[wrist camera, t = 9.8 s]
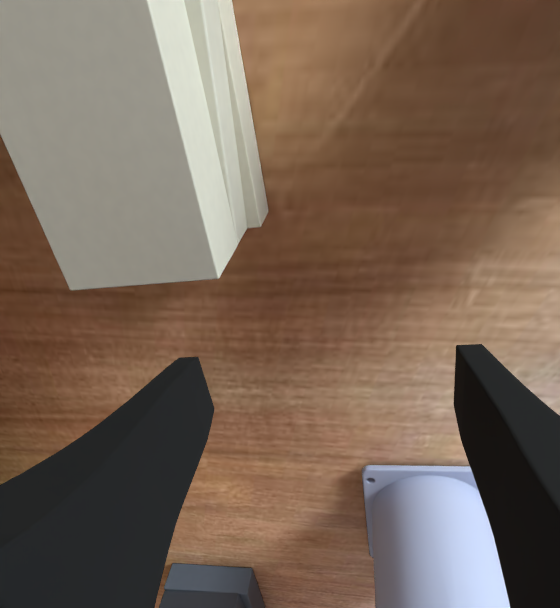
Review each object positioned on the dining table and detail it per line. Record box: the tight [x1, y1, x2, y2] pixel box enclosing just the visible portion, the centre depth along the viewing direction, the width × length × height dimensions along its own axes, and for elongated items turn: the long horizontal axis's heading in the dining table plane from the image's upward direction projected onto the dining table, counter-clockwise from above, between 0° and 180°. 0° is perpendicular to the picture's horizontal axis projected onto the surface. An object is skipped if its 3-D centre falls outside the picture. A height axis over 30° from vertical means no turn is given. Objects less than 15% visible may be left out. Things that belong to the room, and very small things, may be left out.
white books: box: [184, 0, 269, 243], centre depth 16 cm, size 9×7×4 cm
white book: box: [0, 0, 238, 291], centre depth 14 cm, size 9×6×3 cm, turn 9°
